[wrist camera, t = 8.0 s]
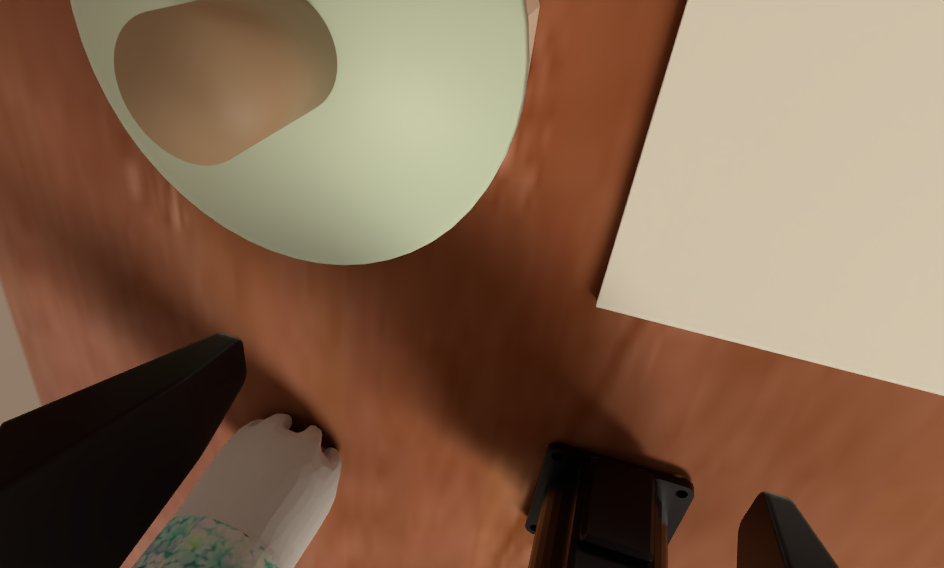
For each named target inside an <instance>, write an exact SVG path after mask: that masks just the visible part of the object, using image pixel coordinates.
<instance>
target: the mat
mask: <svg viewBox="0 0 944 568" xmlns="http://www.w3.org/2000/svg"><path fill="white" fill-rule="evenodd" d="M596 307H599V308H603V309H606V310H610V311H614V312H618V313H622V314H626V315H630V316H634V317H638V318H642V319H646V320H649V321H653V322H657V323H661V324H665V325H669V326H673V327H677V328H681V329H685V330H689V331H693V332H696V333H700V334H704V335H708V336H712V337H716V338H720V339H724V340H728V341H732V342H736V343H740V344H743V345H747V346H751V347H755V348H759V349H763V350H767V351H771V352H775V353H779V354H783V355H786V356H790V357H794V358H798V359H802V360H806V361H810V362H814V363H818V364H822V365H826V366H830V367H833V368H837V369H841V370H845V371H849V372H853V373H857V374H861V375H865V376H869V377H873V378H876V379H880V380H884V381H888V382H892V383H896V384H900V385H904V386H908V387H912V388H916V389H920V390H923V391H927V392H931V393H935V394H939V395H943V396H944V0H687V2H686V5H685V8H684V12H683V15H682V18H681V22H680V25H679V28H678V32H677V35H676V38H675V42H674V45H673V48H672V52H671V55H670V58H669V62H668V65H667V68H666V72H665V75H664V78H663V82H662V85H661V89H660V92H659V95H658V99H657V102H656V105H655V109H654V112H653V115H652V119H651V122H650V125H649V129H648V132H647V135H646V139H645V142H644V145H643V149H642V152H641V155H640V159H639V162H638V165H637V169H636V172H635V175H634V179H633V182H632V185H631V189H630V192H629V195H628V199H627V202H626V205H625V209H624V212H623V215H622V219H621V222H620V226H619V229H618V232H617V236H616V239H615V242H614V246H613V249H612V252H611V256H610V259H609V262H608V266H607V269H606V272H605V276H604V279H603V282H602V286H601V289H600V292H599V296H598V299H597V303H596Z"/></svg>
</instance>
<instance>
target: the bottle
mask: <svg viewBox="0 0 944 568" xmlns="http://www.w3.org/2000/svg"><path fill="white" fill-rule="evenodd" d="M291 425H292V418H291V417H290V416H289V415H287V414H274V415H272V416H270V417H268V418H266V419H265V420H263V419H257V420H254V421H251V422H249V423H248V424H246V425H245V426H243V427H242V428H240V429H239V430H238V431H237V432H236V433H235V434H234V435H233V436H232V437H231V438H230V439H229V440H228V442H227V443H226V444H225V445H224V446H223V448H222V449H221V450H220V452H219V453H218V454H217V456H216V457H215V458H214V460H213V461H212V462H211V464H210V465H209V467H208V468H207V469H206V471H205V472H204V474H203V475H202V477H201V478H200V480H199V481H198V483H197V484H196V485H195V487H194V488H193V490H192V491H191V493H190V494H189V496H188V497H187V499H186V500H185V502H184V503H183V504H182V506H181V507H180V508H179V510H178V511H177V512H176V514H175V515H174V516H173V517H172V519H171V520H170V521H169V522H168V523H167V524H166V526H165V527H164V528H163V529H162V531H161V532H160V533H159V534H158V536H157V537H156V538H155V540H154V541H153V542H152V543H151V545H150V546H149V547H148V548H147V550H146V551H145V552H144V553H143V555H142V556H141V557H140V558H139V560H138V561H137V562H136V563H135V565H134V566H133V567H132V568H294V566H295V565H296V563H297V562H298V560H299V559H300V557H301V555H302V554H303V552H304V551H305V549H306V548H307V546H308V545H309V543H310V542H311V540H312V539H313V537H314V536H315V534H316V533H317V531H318V529H319V528H320V526H321V524H322V522H323V521H324V519H325V517H326V516H327V514H328V512H329V511H330V509H331V506H332V504H333V502H334V499H335V496H336V492H337V488H338V481H339V477H340V473H341V465H342V462H341V457H340V454H339V452H338V451H337V449H334V448H332V447H329V448H327V449H325V451H324V452H322V449H321V440H322V431H321V430H320V429H319V428H317V427H316V426H314V425H310V426H309V427H308V428H307V429H305V430H304V431H302V432H299V433H295V432H293V431H291V430H289V429H290V427H291Z"/></svg>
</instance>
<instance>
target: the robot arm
mask: <svg viewBox="0 0 944 568" xmlns="http://www.w3.org/2000/svg"><path fill="white" fill-rule="evenodd" d="M246 374H247V369H246V362H245V355H244V347H243V342H242V341H241V339H239V338H238V337H234V336H231V335H227V334H224V333H217V334H214V335H211V336H209V337H206V338H204V339H202V340H199V341H197V342H195V343H192V344H190V345H187V346H185V347H183V348H180V349H178V350H175V351H173V352H171V353H168V354H166V355H163V356H161V357H159V358H156V359H154V360H152V361H149V362H147V363H144V364H142V365H140V366H137V367H135V368H132V369H130V370H128V371H125V372H123V373H120V374H118V375H116V376H113V377H111V378H108V379H106V380H104V381H101V382H99V383H97V384H94V385H92V386H89V387H87V388H85V389H82V390H80V391H77V392H75V393H73V394H70V395H68V396H65V397H63V398H61V399H58V400H56V401H53V402H51V403H49V404H46V405H44V406H42V407H39V408H37V409H34V410H32V411H30V412H27V413H25V414H22V415H20V416H18V417H15V418H13V419H10V420H8V421H6V422H3V423H2V424H1V426H0V568H120V566H121V565H122V563H123V562H124V561H125V559H126V558H127V557H128V555H129V554H130V553H131V551H132V550H133V548H134V547H135V546H136V544H137V543H138V542H139V540H140V539H141V538H142V536H143V535H144V534H145V532H146V531H147V529H148V528H149V527H150V525H151V524H152V523H153V521H154V520H155V519H156V517H157V516H158V514H159V513H160V512H161V510H162V509H163V508H164V506H165V505H166V504H167V502H168V501H169V499H170V498H171V497H172V495H173V494H174V493H175V491H176V490H177V489H178V487H179V486H180V485H181V483H182V482H183V480H184V479H185V478H186V476H187V475H188V474H189V472H190V471H191V470H192V468H193V467H194V465H195V464H196V463H197V461H198V460H199V458H200V457H201V455H202V454H203V452H204V451H205V449H206V447H207V446H208V444H209V442H210V441H211V439H212V437H213V436H214V434H215V432H216V431H217V429H218V427H219V425H220V424H221V422H222V420H223V419H224V417H225V415H226V413H227V412H228V410H229V408H230V407H231V405H232V403H233V401H234V400H235V398H236V396H237V395H238V393H239V391H240V389H241V388H242V386H243V384H244V382H245V379H246ZM556 453H559V454H556ZM681 490H684V491H681ZM693 498H694V486H693V484H692V483H691V482H690V481H687V480H685V479H682V478H678V477H675V476H672V475H668V474H665V473H661V472H658V471H655V470H651V469H648V468H644V467H641V466H637V465H634V464H631V463H627V462H624V461H620V460H617V459H614V458H610V457H607V456H603V455H600V454H597V453H593V452H590V451H586V450H583V449H580V448H576V447H573V446H569V445H566V444H563V443H558V442H555V443H551V444H549V446H548V447H547V451H546V454H545V458H544V461H543V465H542V468H541V472H540V475H539V478H538V482H537V485H536V489H535V492H534V496H533V499H532V502H531V506H530V509H529V513H528V516H527V520H526V524H525V528H526V529H527V530H528V531H529V532H530V533H532V534H535V537H534V542H533V547H532V552H531V556H530V561H529V566H528V568H668V544H669V542H670V540H671V538H672V536H673V534H674V533H675V531H676V529H677V527H678V525H679V523H680V522H681V520H682V518H683V516H684V514H685V512H686V511H687V509H688V507H689V505H690V503H691V502H692V500H693ZM737 568H839V567H838V565H837V564H836V563H835V561H834V560H833V558H832V557H831V555H830V554H829V553H828V551H827V550H826V548H825V547H824V545H823V544H822V542H821V541H820V540H819V538H818V537H817V535H816V534H815V532H814V531H813V530H812V528H811V527H810V525H809V524H808V522H807V521H806V520H805V518H804V517H803V515H802V514H801V512H800V511H799V509H798V508H797V507H796V505H795V504H794V503H793V501H791V500H790V499H789V498H787V497H784V496H781V495H777V494H774V493H770V492H767V491H764V492H761V493H760V494H759V495H758V496H757V497H756V499H755V500H754V502H753V504H752V505H751V507H750V508H749V510H748V511H747V513H746V514H745V516H744V517H743V519H742V521H741V523H740V526H739V531H738V549H737Z"/></svg>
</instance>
